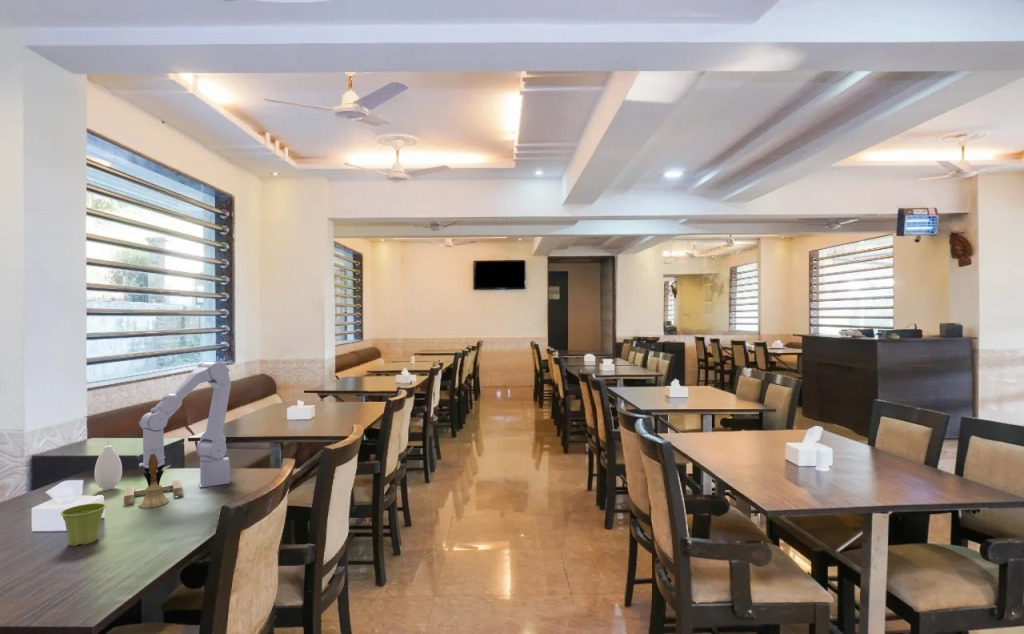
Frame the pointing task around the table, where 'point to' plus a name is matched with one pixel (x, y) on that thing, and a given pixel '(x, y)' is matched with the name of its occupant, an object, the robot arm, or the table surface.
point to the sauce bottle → (108, 468)
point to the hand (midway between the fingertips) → (153, 490)
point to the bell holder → (131, 491)
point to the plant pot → (83, 523)
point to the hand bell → (153, 488)
